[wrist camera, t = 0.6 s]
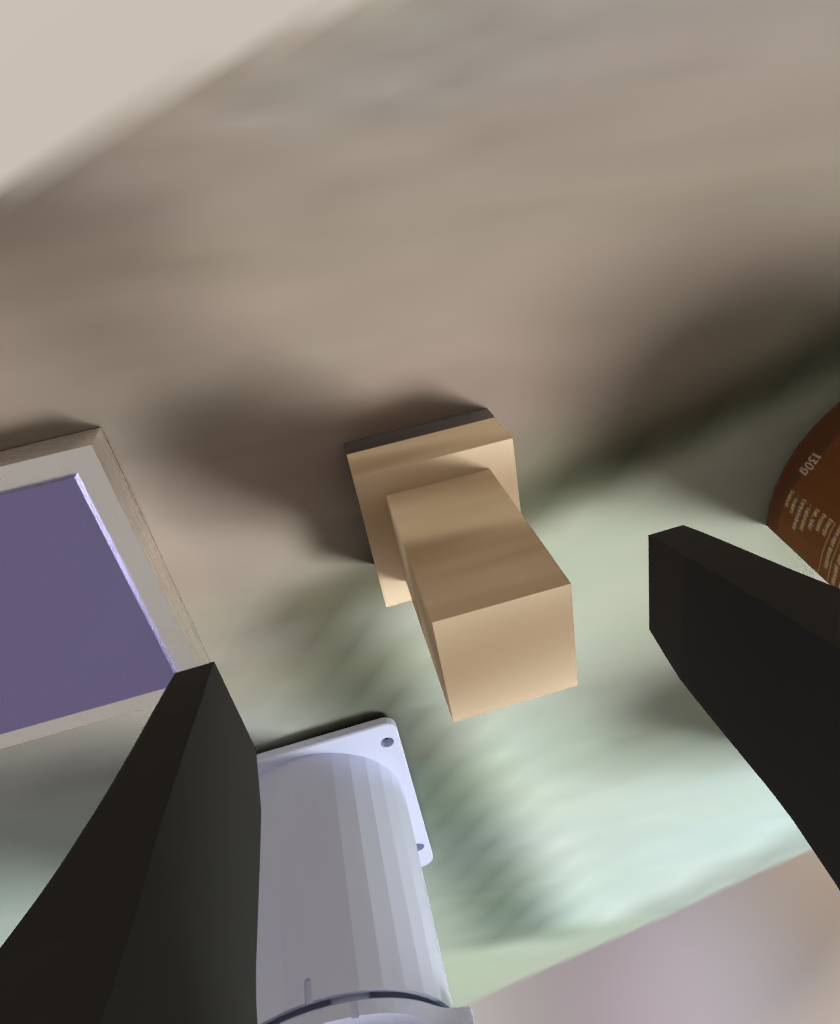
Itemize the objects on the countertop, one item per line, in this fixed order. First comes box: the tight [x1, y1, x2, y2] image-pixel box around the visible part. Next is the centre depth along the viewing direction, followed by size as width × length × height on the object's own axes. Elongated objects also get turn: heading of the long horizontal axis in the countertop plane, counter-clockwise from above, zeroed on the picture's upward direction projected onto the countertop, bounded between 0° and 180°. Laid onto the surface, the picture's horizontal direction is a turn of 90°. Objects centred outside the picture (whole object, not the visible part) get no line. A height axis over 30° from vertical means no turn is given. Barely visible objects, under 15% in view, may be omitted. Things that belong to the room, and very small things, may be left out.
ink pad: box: [0, 427, 210, 749], centre depth 19 cm, size 9×9×1 cm
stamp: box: [344, 408, 578, 722], centre depth 18 cm, size 4×4×8 cm
